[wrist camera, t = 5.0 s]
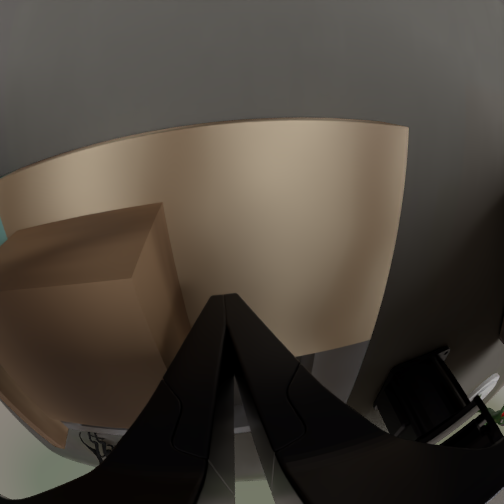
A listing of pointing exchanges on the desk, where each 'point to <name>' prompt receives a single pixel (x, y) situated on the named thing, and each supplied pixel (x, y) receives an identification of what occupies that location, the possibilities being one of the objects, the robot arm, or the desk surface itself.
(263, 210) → the compartment tray
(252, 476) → the desk surface
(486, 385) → the monster figurine
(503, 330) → the decorative book
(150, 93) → the desk surface
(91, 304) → the walnut block
